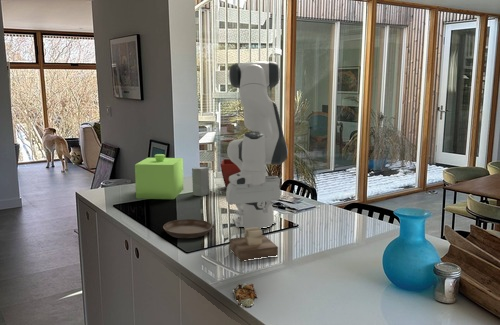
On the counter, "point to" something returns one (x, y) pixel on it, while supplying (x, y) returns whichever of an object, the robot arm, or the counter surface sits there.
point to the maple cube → (253, 236)
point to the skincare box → (200, 181)
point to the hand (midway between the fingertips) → (253, 213)
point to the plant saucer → (187, 228)
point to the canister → (159, 177)
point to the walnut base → (253, 248)
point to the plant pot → (228, 170)
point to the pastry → (244, 294)
